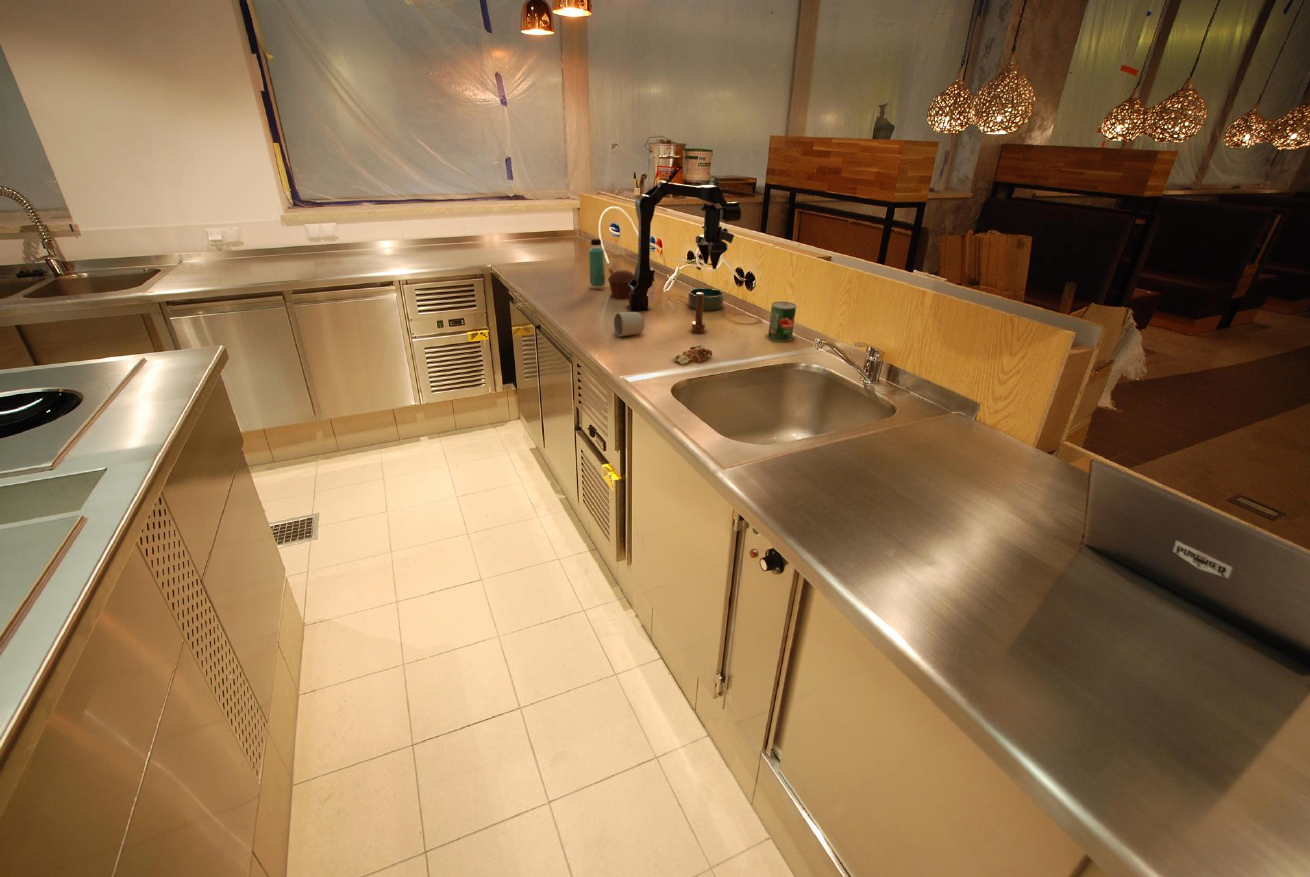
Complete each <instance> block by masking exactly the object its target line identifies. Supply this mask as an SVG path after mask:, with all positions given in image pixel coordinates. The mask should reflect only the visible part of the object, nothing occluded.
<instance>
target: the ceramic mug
mask: <svg viewBox="0 0 1310 877" xmlns="http://www.w3.org/2000/svg"><path fill="white" fill-rule="evenodd" d="M613 326H614V332H615V334H616V336H618V337H619V338H621V337H628V336H633V335H634V336H635V335H639V334H641V333H643V331H644V328H645V320H644V317H643V315H642V314H641V313H640V312H638V311H637V312H636V311H630V312H629V311H628V312H616V313H615V315H614V318H613Z"/></svg>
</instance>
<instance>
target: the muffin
mask: <svg viewBox="0 0 1310 877" xmlns="http://www.w3.org/2000/svg"><path fill="white" fill-rule="evenodd" d="M634 274H635V273H633V272H631V271H630V270H626V269H619V270H615V271H614V272H612V273H611V274H610V275H609V277H608V278H607V281H608V282H609V287H610V288H609V289H610V293H611V294H610V295H611V296H612V297H613V299H619V300H621V299H622V300H626V299H627V300H628V299H629V291H631V290H630V289H629V287H628V284H629V283H630V282H631V281H632V280H633V279H634Z"/></svg>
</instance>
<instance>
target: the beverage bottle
mask: <svg viewBox="0 0 1310 877" xmlns="http://www.w3.org/2000/svg"><path fill="white" fill-rule="evenodd" d="M590 245H591V246H592V247H590V249H589V250H588V259H589V284H590V286H592V287H603V286H605V285H606V272H605V269H606V268H605V250H604V248H602V247H601V245H602V240H601V239H600V238H591V239H590Z"/></svg>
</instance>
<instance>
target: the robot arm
mask: <svg viewBox="0 0 1310 877" xmlns="http://www.w3.org/2000/svg"><path fill="white" fill-rule="evenodd" d="M667 195H671V196H680V197H688V198H694V199H699V200H702V201H705V202H703V203H702V204H701V205H700V206H699V207H698V210H700V211H704V212H703V213H704V214H703V224H702V225H701V229H703V234H698V235H697V236H695V244H696V247H697V248H698V250H699V252H700V256H701V258H702V261H703V264H705V265H707V264H709V259H710V263H711V267H712V269H713V270H716V269H717V267H718V265H719V262H720V258H721V256H722V255H723V254H724V253H726V252H727V251H728V243H729V244H733V241H734V238H735V234H733V233H731V232H729V231H728V229H727V228H725V227H722V226H721V225H720V223H721V221H722V222H723V223H738V222H740V221H741V218H742V211H741V207H740V202H739V201H732V202H727V200H726V199H725V197H724V192H723V190H722V188H721V187H720V186H716V185H713V184H704V185H689V184H682V183H675V182H668V181H664V180H661V181H659V182H658V183H657V184H656V185H654V186H653V187H652V188H650V189H649V190H647V191H646V192H645V193H644V194H643V193H642V194H640V195H638V196H637V197H636V198H635V201H634V205H635V213H636V218H637V222H638V232H637V233H638V236H637V240H638V241H637V263H636V266H635V269H634V273H633V274H634V279H633V280H632V281H631V282H630V283H629V284H628V287H629V289H630V290H631V291H629V298H628V305H627V308H629V310H630V311H631V312H636V311H637V312H638V311H648V310H649V296H648V293H649V292H648V291H649V289H651V287H652V286H653V283H654V282H655V271H656V270H655V269H654V268H653V267H652V266H651V264H650V260H651V259H650V258H651V224H652V221H653V219H654V216H655V215H654V214H655V209H656V206H657V205H658V204H659V203H660V202H661V201H662V200H663V199H664V198H665V197H666V196H667ZM706 202H708V203H710V204H707V203H706ZM726 242H728V243H726Z"/></svg>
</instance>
